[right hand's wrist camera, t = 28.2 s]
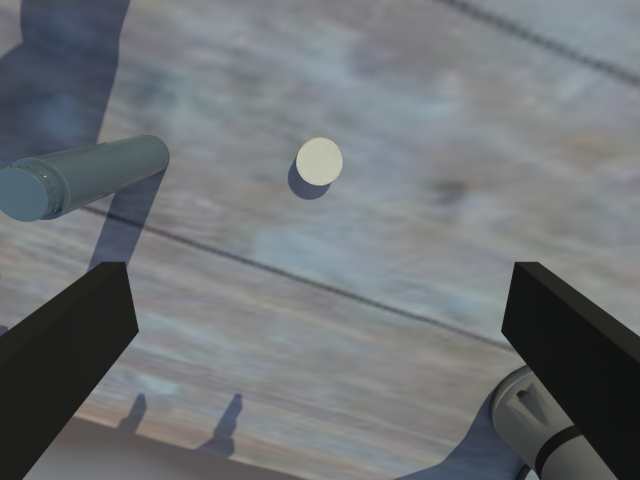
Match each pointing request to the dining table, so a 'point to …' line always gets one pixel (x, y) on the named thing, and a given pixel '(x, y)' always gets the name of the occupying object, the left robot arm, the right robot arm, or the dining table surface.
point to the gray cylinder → (77, 176)
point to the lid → (319, 161)
